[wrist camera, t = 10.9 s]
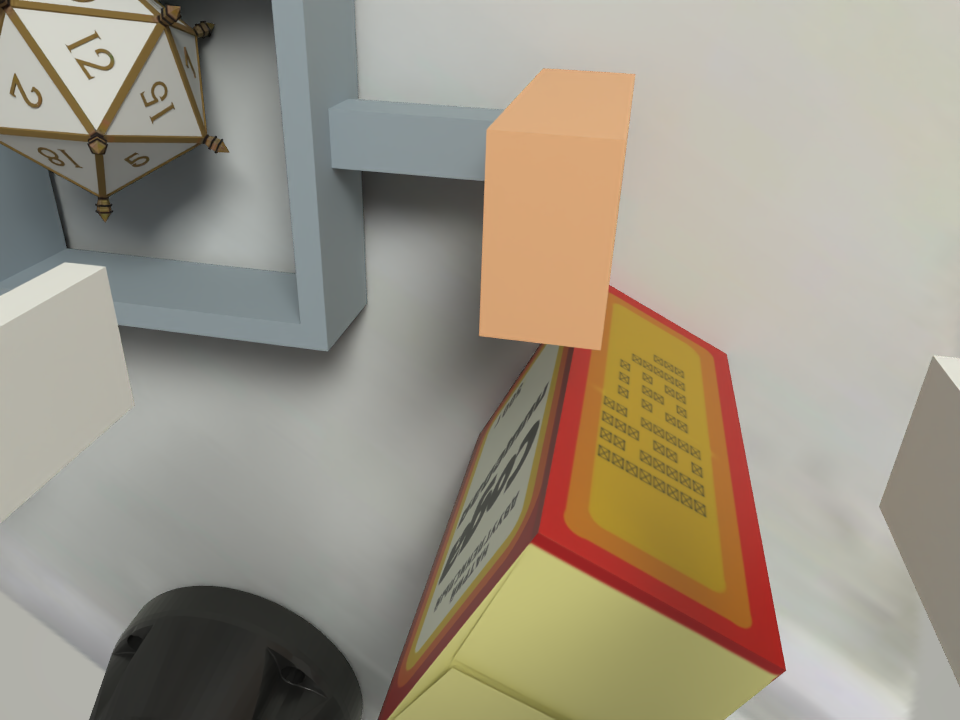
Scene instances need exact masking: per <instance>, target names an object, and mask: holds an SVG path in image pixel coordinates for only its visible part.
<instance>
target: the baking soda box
mask: <svg viewBox="0 0 960 720" xmlns="http://www.w3.org/2000/svg"><path fill="white" fill-rule="evenodd" d="M785 671H786V668H785V662H784V657H783V652H782V647H781V641H780V636H779V631H778V625H777V620H776V615H775V609H774V604H773V599H772V593H771V588H770V583H769V577H768V572H767V567H766V561H765V556H764V551H763V545H762V540H761V535H760V529H759V524H758V519H757V513H756V508H755V503H754V497H753V492H752V487H751V481H750V476H749V471H748V466H747V460H746V455H745V450H744V444H743V439H742V434H741V428H740V423H739V418H738V412H737V407H736V402H735V396H734V391H733V386H732V380H731V375H730V370H729V364H728V359H727V354H725V353H724V352H722V351H720V350H719V349H717V348H715V347H714V346H712V345H710V344H708V343H707V342H705V341H703V340H702V339H700V338H698V337H697V336H695V335H693V334H691V333H690V332H688V331H686V330H685V329H683V328H681V327H680V326H678V325H676V324H675V323H673V322H671V321H669V320H668V319H666V318H664V317H663V316H661V315H659V314H658V313H656V312H654V311H653V310H651V309H649V308H647V307H646V306H644V305H642V304H641V303H639V302H637V301H636V300H634V299H632V298H630V297H629V296H627V295H625V294H624V293H622V292H620V291H619V290H617V289H615V288H614V287H612V286H610V285H609V289H608V297H607V305H606V313H605V321H604V329H603V337H602V345H601V350H593V349H584V348H576V347H568V346H559V345H551V344H542V343H541V344H540V346H539V347H538V349H537V350H536V352H535V353H534V355H533V356H532V358H531V359H530V361H529V362H528V364H527V365H526V367H525V368H524V370H523V371H522V373H521V374H520V376H519V377H518V379H517V380H516V381H515V383H514V384H513V386H512V387H511V389H510V390H509V392H508V393H507V395H506V396H505V398H504V399H503V401H502V402H501V404H500V405H499V407H498V408H497V410H496V411H495V413H494V414H493V416H492V417H491V419H490V420H489V421H488V423H487V424H486V426H485V427H484V429H483V430H482V432H481V433H480V435H479V437H478V440H477V443H476V446H475V448H474V451H473V454H472V457H471V460H470V462H469V465H468V468H467V471H466V474H465V476H464V479H463V482H462V485H461V488H460V490H459V493H458V496H457V499H456V502H455V505H454V507H453V510H452V513H451V516H450V519H449V521H448V524H447V527H446V530H445V533H444V535H443V538H442V541H441V544H440V547H439V549H438V552H437V555H436V558H435V561H434V564H433V566H432V569H431V572H430V575H429V578H428V580H427V583H426V586H425V589H424V592H423V594H422V597H421V600H420V603H419V606H418V608H417V611H416V614H415V617H414V620H413V622H412V625H411V628H410V631H409V634H408V637H407V639H406V642H405V645H404V648H403V651H402V653H401V656H400V659H399V662H398V665H397V667H396V670H395V673H394V676H393V679H392V681H391V684H390V687H389V690H388V693H387V696H386V698H385V701H384V704H383V707H382V710H381V712H380V715H379V718H378V720H724V719H726V718H727V717H728V716H729V715H731V714H732V713H733V712H734V711H736V710H737V709H738V708H739V707H741V706H742V705H743V704H745V703H746V702H747V701H748V700H750V699H751V698H752V697H753V696H755V695H756V694H757V693H758V692H760V691H761V690H762V689H763V688H765V687H766V686H767V685H768V684H770V683H771V682H772V681H773V680H775V679H776V678H777V677H778V676H780V675H781V674H782V673H783V672H785Z"/></svg>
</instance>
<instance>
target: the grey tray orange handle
mask: <svg viewBox="0 0 960 720" xmlns="http://www.w3.org/2000/svg"><path fill="white" fill-rule="evenodd" d="M271 1H272V12H273V23H274V34H275V45H276V56H277V68H278V79H279V90H280V101H281V112H282V123H283V134H284V145H285V157H286V168H287V179H288V190H289V201H290V212H291V223H292V234H293V246H294V257H295V268H296V274H294V273H285V272H276V271H267V270H258V269H249V268H240V267H231V266H222V265H213V264H203V263H194V262H185V261H176V260H167V259H158V258H149V257H140V256H131V255H122V254H113V253H104V252H95V251H86V250H77V249H68V248H67V247H66V243H65V239H64V235H63V230H62V226H61V222H60V218H59V214H58V210H57V206H56V201H55V197H54V193H53V189H52V185H51V181H50V177H49V173H48V169H46V168H44V167H42V166H40V165H39V164H37V163H35V162H33V161H31V160H29V159H28V158H26V157H24V156H22V155H20V154H18V153H16V152H15V151H13V150H11V149H9V148H7V147H5V146H4V145H2V144H0V296H1V295H3V294H5V293H7V292H9V291H11V290H13V289H15V288H16V287H18V286H20V285H22V284H24V283H26V282H28V281H30V280H32V279H34V278H36V277H38V276H40V275H41V274H43V273H45V272H47V271H49V270H51V269H53V268H55V267H57V266H59V265H61V264H63V263H64V262H66V263H76V264H85V265H94V266H104V267H106V271H107V276H108V280H109V285H110V290H111V295H112V299H113V304H114V309H115V314H116V319H117V323H118V325H123V326H131V327H139V328H147V329H155V330H163V331H170V332H178V333H186V334H194V335H202V336H210V337H218V338H226V339H234V340H242V341H249V342H257V343H265V344H273V345H281V346H289V347H297V348H305V349H313V350H321V351H329V350H330V348H331V347H332V346H333V345H334V343H335V342H336V341H337V340H338V338H339V337H340V336H341V335H342V334H343V332H344V331H345V330H346V329H347V327H348V326H349V325H350V324H351V322H352V321H353V320H354V319H355V317H356V316H357V315H358V314H359V313H360V311H361V310H362V309H363V308H364V306H365V305H366V304H367V291H366V268H365V244H364V221H363V197H362V174H361V170H362V171H373V172H385V173H396V174H408V175H419V176H431V177H442V178H454V179H465V180H477V181H485V186H484V214H483V241H482V269H481V297H480V324H479V336H484V337H492V338H501V339H509V340H517V341H526V342H534V343H542V344H551V345H559V346H568V347H576V348H584V349H593V350H601V345H602V337H603V329H604V321H605V313H606V305H607V297H608V289H609V281H610V273H611V265H612V258H613V250H614V242H615V234H616V226H617V218H618V210H619V202H620V194H621V186H622V178H623V170H624V161H625V153H626V145H627V137H628V129H629V121H630V113H631V105H632V97H633V89H634V81H635V74H626V73H610V72H593V71H577V70H561V69H545V68H543V69H542V70H541V71H540V73H539V74H538V75H537V76H536V77H535V78H534V79H533V80H532V81H531V82H530V83H529V84H528V85H527V87H526V88H525V89H524V90H523V91H522V92H521V93H520V94H519V95H518V96H517V97H516V98H515V99H514V101H513V102H512V103H511V104H510V105H509V106H508V107H507V108H506V109H505V110H499V109H485V108H471V107H457V106H443V105H429V104H415V103H401V102H387V101H373V100H359V99H358V80H357V56H356V33H355V9H354V0H271Z"/></svg>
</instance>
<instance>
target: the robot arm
mask: <svg viewBox="0 0 960 720" xmlns="http://www.w3.org/2000/svg"><path fill="white" fill-rule="evenodd" d="M134 406H135V405H134V400H133V395H132V390H131V386H130V381H129V376H128V371H127V366H126V362H125V357H124V352H123V347H122V342H121V338H120V333H119V328H118V323H117V319H116V314H115V309H114V304H113V299H112V295H111V290H110V285H109V280H108V276H107V271H106V267H104V266H94V265H85V264H76V263H66V262H64V263H63V264H61V265H59V266H57V267H55V268H53V269H51V270H49V271H47V272H45V273H43V274H41V275H40V276H38V277H36V278H34V279H32V280H30V281H28V282H26V283H24V284H22V285H20V286H18V287H16V288H15V289H13V290H11V291H9V292H7V293H5V294H3V295H1V296H0V523H2V522H3V521H4V520H5V519H6V518H7V517H8V516H10V515H11V514H12V513H13V512H14V511H15V510H16V509H18V508H19V507H20V506H21V505H22V504H23V503H24V502H25V501H27V500H28V499H29V498H30V497H31V496H32V495H33V494H35V493H36V492H37V491H38V490H39V489H40V488H41V487H43V486H44V485H45V484H46V483H47V482H48V481H49V480H51V479H52V478H53V477H54V476H55V475H56V474H57V473H59V472H60V471H61V470H62V469H63V468H64V467H65V466H66V465H68V464H69V463H70V462H71V461H72V460H73V459H74V458H76V457H77V456H78V455H79V454H80V453H81V452H82V451H84V450H85V449H86V448H87V447H88V446H89V445H90V444H92V443H93V442H94V441H95V440H96V439H97V438H98V437H100V436H101V435H102V434H103V433H104V432H105V431H106V430H108V429H109V428H110V427H111V426H112V425H113V424H114V423H115V422H117V421H118V420H119V419H120V418H121V417H122V416H123V415H125V414H126V413H127V412H128V411H129V410H130V409H131V408H133V407H134ZM879 507H880V509H881V511H882V514H883V516H884V518H885V520H886V523H887V525H888V527H889V529H890V532H891V534H892V536H893V538H894V541H895V543H896V545H897V547H898V550H899V552H900V554H901V556H902V558H903V561H904V563H905V565H906V567H907V570H908V572H909V574H910V576H911V579H912V581H913V583H914V585H915V588H916V590H917V592H918V594H919V597H920V599H921V601H922V603H923V606H924V608H925V610H926V612H927V614H928V617H929V619H930V621H931V623H932V625H933V628H934V630H935V632H936V635H937V637H938V639H939V641H940V643H941V646H942V648H943V650H944V653H945V655H946V657H947V659H948V662H949V664H950V666H951V668H952V670H953V672H954V675H955V677H956V679H957V682H958V684H959V686H960V358H952V357H943V356H934V355H933V357H932V360H931V363H930V365H929V368H928V371H927V374H926V377H925V379H924V382H923V385H922V388H921V391H920V393H919V396H918V399H917V402H916V405H915V408H914V410H913V413H912V416H911V419H910V422H909V424H908V427H907V430H906V433H905V436H904V438H903V441H902V444H901V447H900V450H899V452H898V455H897V458H896V461H895V464H894V466H893V469H892V472H891V475H890V478H889V480H888V483H887V486H886V489H885V492H884V495H883V497H882V500H881V503H880V506H879ZM361 715H362V695H361V691H360V687H359V684H358V681H357V679H356V677H355V674H354V673H353V671H352V669H351V667H350V665H349V664H348V662H347V661H346V659H345V658H344V657H343V655H342V654H341V653H340V651H339V650H338V649H337V648H336V647H335V646H334V645H333V644H332V642H331V641H329V640H328V639H327V638H326V637H325V636H324V635H323V634H322V633H321V632H320V631H319V630H317V629H316V628H315V627H313V626H312V625H311V624H310V623H308V622H307V621H305V620H304V619H302V618H301V617H299V616H298V615H296V614H295V613H293V612H291V611H289V610H287V609H286V608H284V607H282V606H280V605H278V604H276V603H273V602H271V601H269V600H266V599H264V598H261V597H259V596H256V595H253V594H249V593H246V592H242V591H238V590H234V589H229V588H222V587H213V586H193V587H184V588H179V589H175V590H171V591H168V592H165V593H163V594H161V595H159V596H157V597H155V598H154V599H152V600H151V601H150V602H148V603H147V604H146V605H145V606H144V607H143V608H142V609H141V611H140V612H139V613H138V614H137V616H136V617H135V618H134V620H133V621H132V622H131V624H130V625H129V626H128V627H127V629H126V630H125V631H124V633H123V634H122V635H121V637H120V639H119V640H118V642H117V644H116V646H115V648H114V650H113V653H112V656H111V658H110V661H109V664H108V667H107V670H106V673H105V676H104V679H103V682H102V685H101V687H100V690H99V693H98V696H97V699H96V702H95V705H94V708H93V710H92V713H91V716H90V719H89V720H361Z"/></svg>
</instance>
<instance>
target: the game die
mask: <svg viewBox="0 0 960 720" xmlns="http://www.w3.org/2000/svg"><path fill="white" fill-rule="evenodd" d="M180 7H181V6H174V5H169V4H165V7H164V6H163V5H162V4H161V3H159V2H158V1H157V0H0V144H2V145H4V146H5V147H7V148H9V149H11V150H13V151H15V152H16V153H18V154H20V155H22V156H24V157H26V158H28V159H29V160H31V161H33V162H35V163H37V164H39V165H40V166H42V167H44V168H46V169H48V170H50V171H52V172H53V173H55V174H57V175H59V176H61V177H63V178H64V179H66V180H68V181H70V182H72V183H74V184H76V185H77V186H79V187H81V188H83V189H85V190H87V191H88V192H90V193H92V194H94V195H96V196H98V202H97V204H95V205H96V206H97V210H96V212H97V213H98V214H99V215H100V216H101V218H102V219H103V220H104V222H105V223H106V221H107V219H108V217H109V216H110V214H111V213H112V212H113V211H112V210H111V206H112V204H110V202H109V196H111V195H113V194H115V193H116V192H118V191H120V190H122V189H123V188H125V187H127V186H129V185H130V184H132V183H134V182H136V181H137V180H139V179H141V178H143V177H144V176H146V175H148V174H150V173H151V172H153V171H155V170H157V169H158V168H160V167H162V166H164V165H165V164H167V163H169V162H171V161H172V160H174V159H176V158H178V157H179V156H181V155H183V154H185V153H186V152H188V151H190V150H192V149H193V148H195V147H197V146H199V145H200V144H202V143H203V144H206V145H207V146H208V147H209V148H208V149H210V150H211V149H212V150H214V151H215V152H214V153H218V152H229V151H228V149H227V147H226V146H225V144H224V142H223V139H221V140H220V139H218V138H217V136H215V137H212V136H209V135H208V134H207V128H206V118H205V109H204V99H203V90H202V81H201V71H200V62H199V53H198V43H197V38H198V37H202V38H205V36H207V35H208V36H210V33H211V31H212V29H213V27H214V25H215V24H212V23H207V22H206V21H201V22H200V24H195V27H194V28H193V29H192V28H191V27H190V26H188V25H187V24H186V23H185V22H183V21H182V20H181V19H180V18H181V17H182V16H181V15H180ZM229 153H230V152H229Z"/></svg>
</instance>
